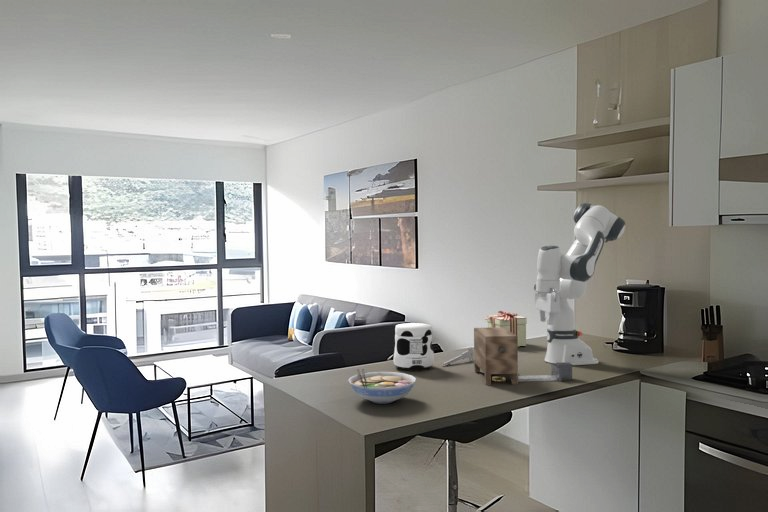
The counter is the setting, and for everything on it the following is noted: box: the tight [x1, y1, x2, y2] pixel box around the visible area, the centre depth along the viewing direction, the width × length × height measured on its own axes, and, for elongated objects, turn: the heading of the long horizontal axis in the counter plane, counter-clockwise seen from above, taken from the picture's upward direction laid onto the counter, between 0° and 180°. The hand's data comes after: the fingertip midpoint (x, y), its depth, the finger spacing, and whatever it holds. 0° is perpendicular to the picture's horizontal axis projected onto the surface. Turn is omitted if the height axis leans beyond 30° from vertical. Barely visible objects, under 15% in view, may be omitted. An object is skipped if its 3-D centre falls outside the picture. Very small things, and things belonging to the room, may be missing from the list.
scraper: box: [518, 362, 573, 383], centre depth 223 cm, size 22×9×6 cm, turn 92°
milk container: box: [392, 322, 435, 371], centre depth 245 cm, size 17×17×18 cm
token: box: [491, 375, 506, 383], centre depth 223 cm, size 5×5×1 cm
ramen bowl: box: [347, 368, 417, 405], centre depth 195 cm, size 25×23×8 cm
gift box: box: [484, 310, 527, 347], centre depth 295 cm, size 17×18×17 cm
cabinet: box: [473, 327, 519, 386], centre depth 226 cm, size 12×23×18 cm, turn 2°
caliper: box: [442, 347, 474, 365], centre depth 254 cm, size 20×1×6 cm, turn 131°
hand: (546, 323), depth 225 cm, fingers open, 8 cm apart
